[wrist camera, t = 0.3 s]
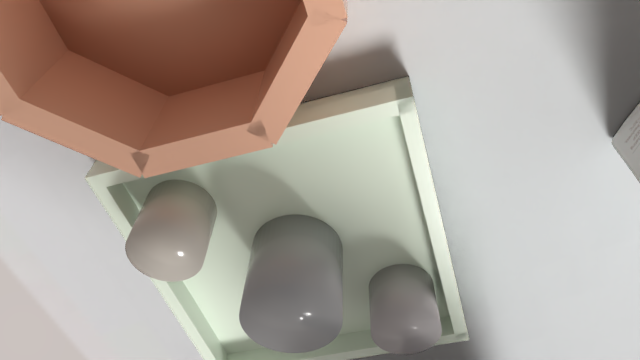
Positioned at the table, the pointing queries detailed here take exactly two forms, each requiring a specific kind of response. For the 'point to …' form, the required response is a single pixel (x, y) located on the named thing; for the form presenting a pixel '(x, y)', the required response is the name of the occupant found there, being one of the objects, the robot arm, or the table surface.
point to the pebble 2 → (403, 309)
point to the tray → (316, 201)
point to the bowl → (161, 74)
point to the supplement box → (630, 142)
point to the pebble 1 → (172, 231)
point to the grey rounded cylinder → (294, 285)
